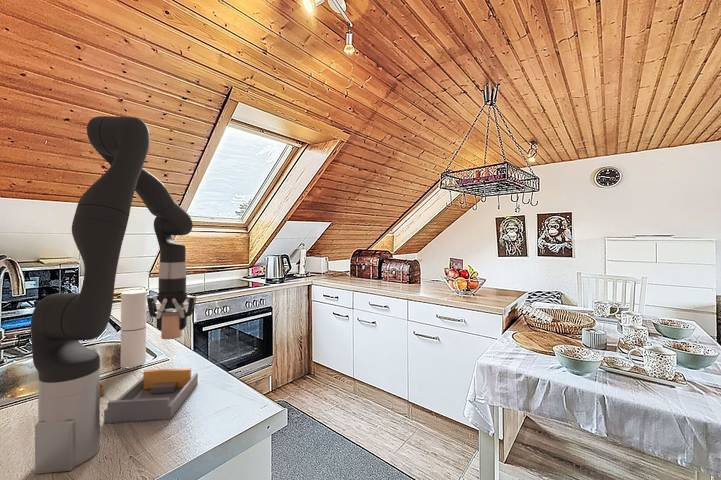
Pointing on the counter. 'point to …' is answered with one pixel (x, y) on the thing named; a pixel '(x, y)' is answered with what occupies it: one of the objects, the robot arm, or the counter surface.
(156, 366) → the counter surface
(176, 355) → the counter surface
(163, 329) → the jar
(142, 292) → the cylindrical container
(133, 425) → the counter surface
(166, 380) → the pusher
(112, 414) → the lane
